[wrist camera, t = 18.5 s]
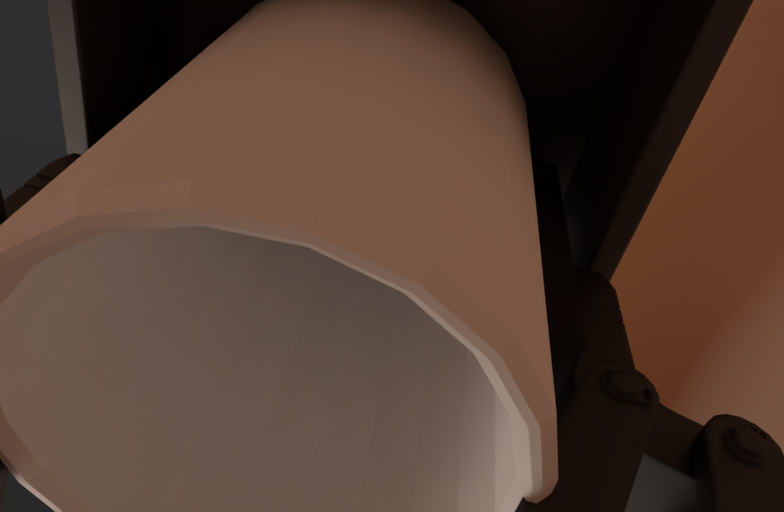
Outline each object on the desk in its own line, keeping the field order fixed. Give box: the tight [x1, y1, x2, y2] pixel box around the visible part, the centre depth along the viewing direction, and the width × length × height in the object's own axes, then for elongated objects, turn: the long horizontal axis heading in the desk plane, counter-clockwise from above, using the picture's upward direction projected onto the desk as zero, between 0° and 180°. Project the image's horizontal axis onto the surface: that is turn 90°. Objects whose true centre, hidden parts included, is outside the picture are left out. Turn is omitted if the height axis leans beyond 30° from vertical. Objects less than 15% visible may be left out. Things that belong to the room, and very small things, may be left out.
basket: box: [46, 0, 753, 282], centre depth 17 cm, size 16×12×5 cm
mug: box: [0, 0, 558, 512], centre depth 14 cm, size 8×12×10 cm
